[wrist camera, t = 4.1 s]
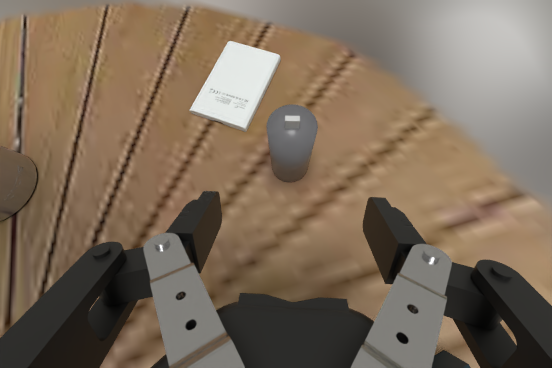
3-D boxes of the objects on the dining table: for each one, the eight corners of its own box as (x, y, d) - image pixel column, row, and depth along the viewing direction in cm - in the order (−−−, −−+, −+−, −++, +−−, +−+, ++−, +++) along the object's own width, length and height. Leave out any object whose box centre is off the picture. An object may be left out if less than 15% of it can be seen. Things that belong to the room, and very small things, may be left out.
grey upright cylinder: (271, 181, 28) (264, 142, 19) (272, 148, 30) (267, 95, 20) (307, 182, 28) (319, 143, 18) (307, 149, 29) (319, 96, 20)
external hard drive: (280, 63, 34) (246, 134, 31) (230, 49, 35) (192, 115, 32) (280, 54, 33) (244, 127, 29) (228, 39, 34) (187, 108, 31)
